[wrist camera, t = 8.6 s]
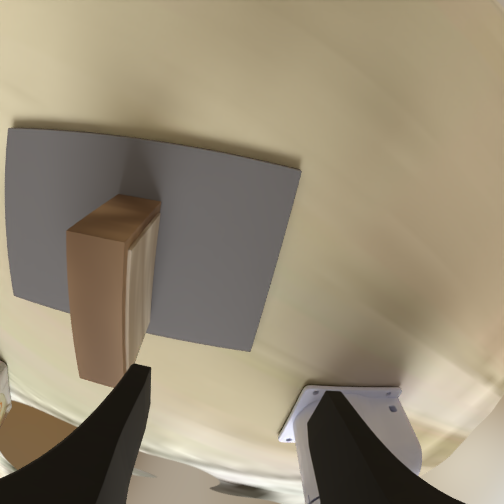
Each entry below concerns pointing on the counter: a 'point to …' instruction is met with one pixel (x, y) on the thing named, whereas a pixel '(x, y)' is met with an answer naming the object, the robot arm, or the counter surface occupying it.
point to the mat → (170, 226)
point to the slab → (111, 284)
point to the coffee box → (4, 393)
